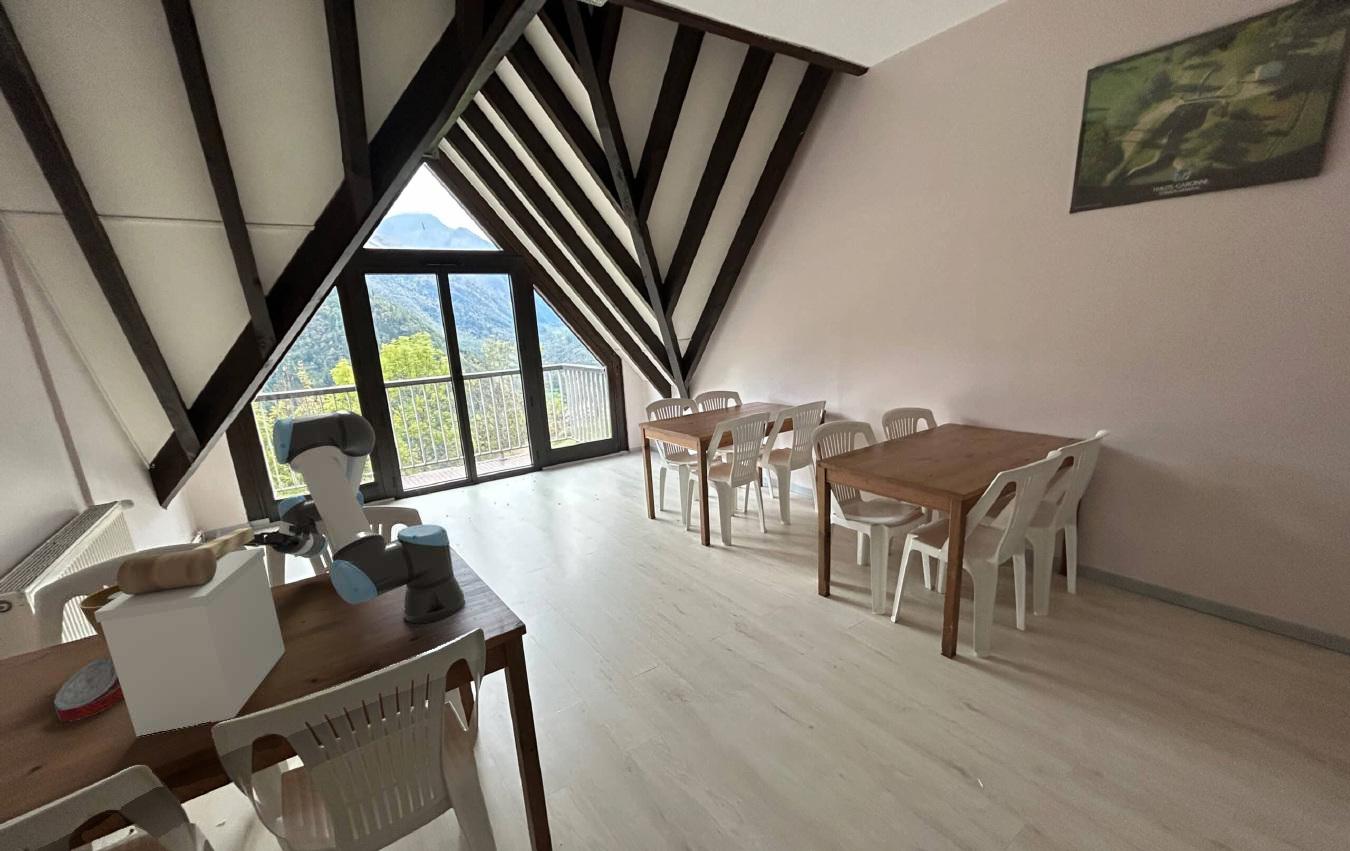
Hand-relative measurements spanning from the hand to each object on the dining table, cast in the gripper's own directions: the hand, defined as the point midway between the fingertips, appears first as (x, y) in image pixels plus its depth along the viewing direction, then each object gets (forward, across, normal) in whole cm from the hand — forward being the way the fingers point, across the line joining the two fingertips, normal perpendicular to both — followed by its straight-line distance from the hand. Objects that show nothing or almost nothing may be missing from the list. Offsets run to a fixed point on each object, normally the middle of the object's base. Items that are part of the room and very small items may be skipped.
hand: (249, 530), depth 128 cm
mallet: (+15, 0, -10) cm, 18 cm away
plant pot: (-14, +28, -24) cm, 39 cm away
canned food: (+4, +24, -34) cm, 42 cm away
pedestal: (+8, 0, -36) cm, 37 cm away
